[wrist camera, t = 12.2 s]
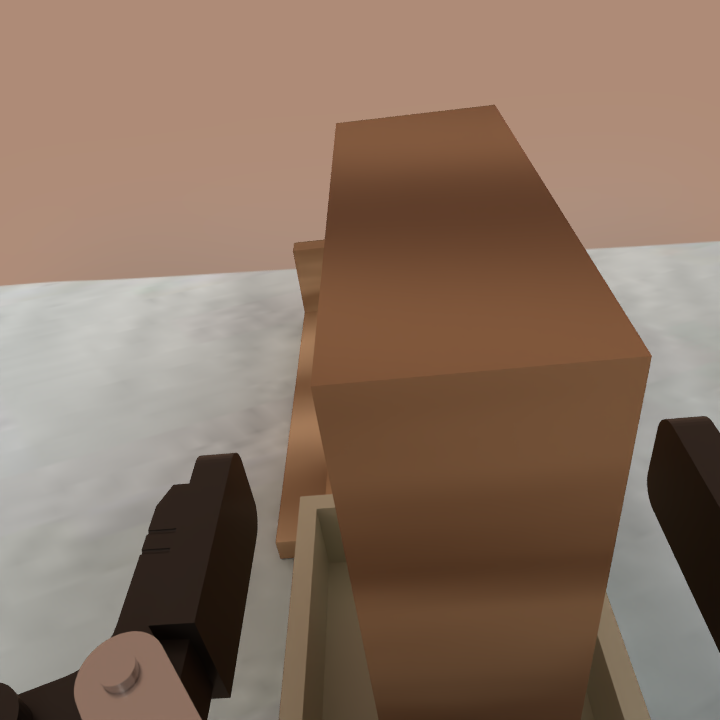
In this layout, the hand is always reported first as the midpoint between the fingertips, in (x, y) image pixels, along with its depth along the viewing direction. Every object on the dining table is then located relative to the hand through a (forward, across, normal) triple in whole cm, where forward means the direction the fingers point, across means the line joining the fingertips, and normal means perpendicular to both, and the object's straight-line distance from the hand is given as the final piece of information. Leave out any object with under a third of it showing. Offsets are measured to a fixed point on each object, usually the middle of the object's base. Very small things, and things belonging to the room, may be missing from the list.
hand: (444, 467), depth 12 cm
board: (0, 0, +10) cm, 10 cm away
